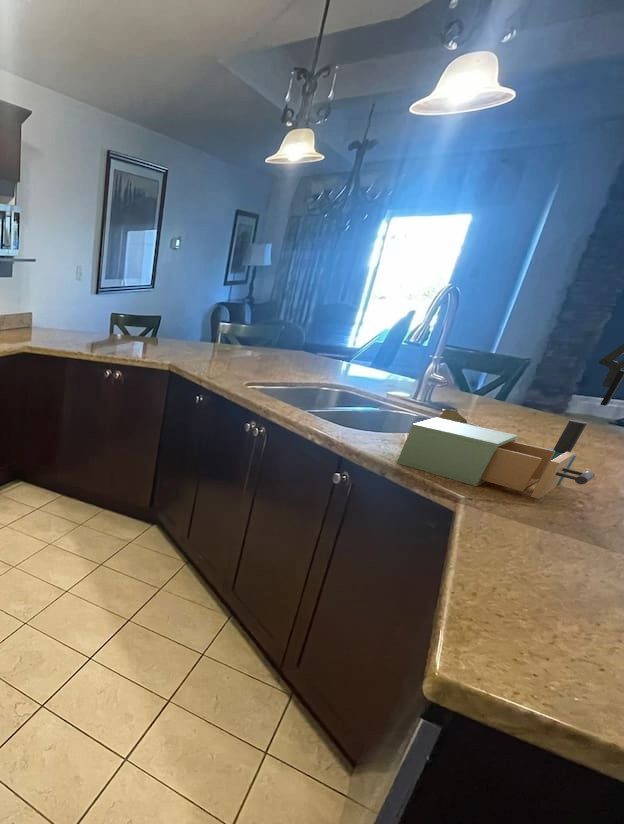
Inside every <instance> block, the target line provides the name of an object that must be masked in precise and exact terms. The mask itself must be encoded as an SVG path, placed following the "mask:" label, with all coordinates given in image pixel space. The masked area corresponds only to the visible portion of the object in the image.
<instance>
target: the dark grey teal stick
mask: <svg viewBox="0 0 624 824" xmlns="http://www.w3.org/2000/svg"><path fill="white" fill-rule="evenodd" d="M587 425H588V422H585V421H582V420H578V419H569V420H568V422H567V424H566V426H565V428H564V430H563V431H562V433H561V435H560V436H559V438H558V441H557V442H556V444H555V445H554V447H547V448H545V449H549V450H554V451H555V453H554V455H553V456H552V458H551V460H550V461H552V460H553V459H555V458H557V457H558V456H560V455H562V454H564V453H565V452H571V453H573V452H572V451H573V449H574V447H575V446H576V444H577V442H578V441H579V439H580V437H581V436H582V433H583V432H584V430H585V428H586V427H587ZM577 456H578V454H576V453H575V454H574V456H573V458H572V459H571V461H570V463H569V465H568V466H567V468H566V469H571V467H572V465H573V463H574V462H575V460H576V458H577ZM549 463H550V462H549ZM548 465H549V464H548ZM548 465H547V466H548ZM546 468H547V467H546ZM545 470H546V469H545ZM544 472H545V471H544ZM544 472H543V473H544ZM564 474H568V472H564ZM542 475H543V474H542ZM541 477H542V476H541ZM540 479H541V478H540ZM540 479H539V481H540ZM564 479H565V477H561V478H560V480H559V482H558V483H557V485H556V486H560V485H561V484H562V482H563V481H564ZM539 481H538V482H539ZM559 484H560V485H559Z"/></svg>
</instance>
